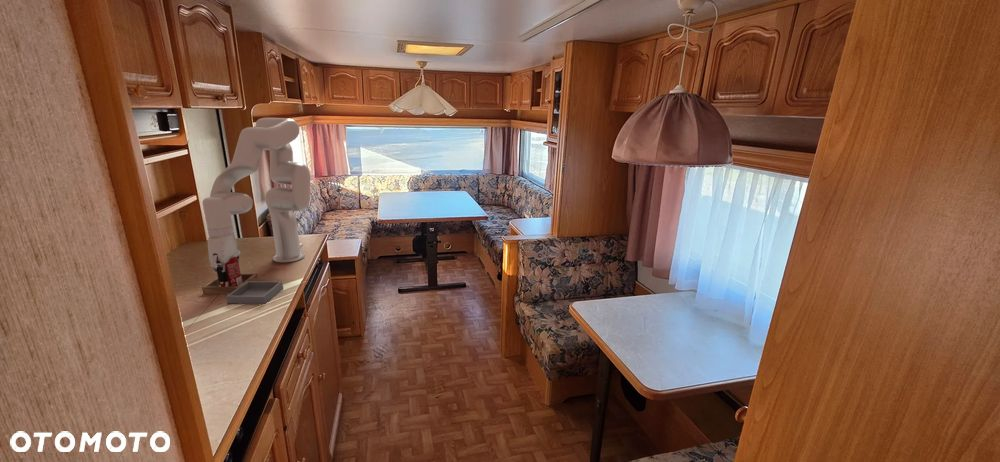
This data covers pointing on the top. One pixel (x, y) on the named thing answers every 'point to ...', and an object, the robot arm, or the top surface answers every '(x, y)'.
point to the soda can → (232, 273)
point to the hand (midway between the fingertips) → (229, 277)
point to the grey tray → (254, 293)
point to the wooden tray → (213, 289)
